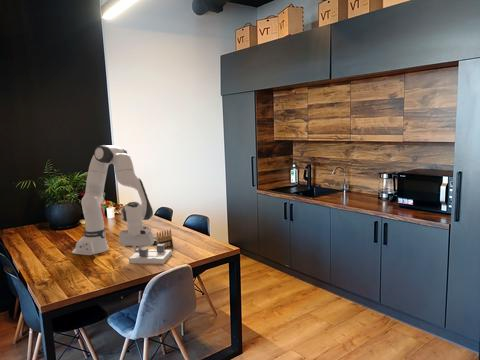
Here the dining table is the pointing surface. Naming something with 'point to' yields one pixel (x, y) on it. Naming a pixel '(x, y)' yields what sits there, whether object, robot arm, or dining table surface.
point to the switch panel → (151, 257)
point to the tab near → (143, 252)
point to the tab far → (160, 247)
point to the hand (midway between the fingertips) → (137, 252)
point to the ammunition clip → (165, 239)
